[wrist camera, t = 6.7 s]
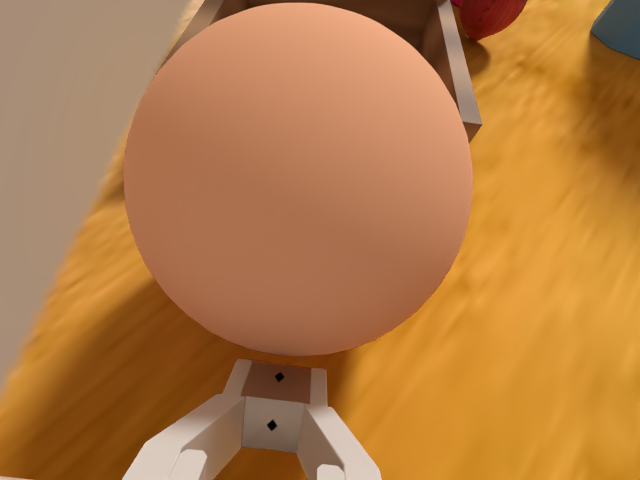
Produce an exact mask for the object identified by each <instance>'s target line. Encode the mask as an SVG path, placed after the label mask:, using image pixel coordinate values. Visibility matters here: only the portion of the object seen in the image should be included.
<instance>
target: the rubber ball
mask: <svg viewBox="0 0 640 480" xmlns="http://www.w3.org/2000/svg"><path fill="white" fill-rule="evenodd" d="M123 177H124V195H125V204H126V211H127V215H128V219H129V223H130V227H131V231H132V233H133V236H134V239H135V242H136V245H137V247H138V249H139V251H140V254H141V256H142V258H143V260H144V262H145V264H146V266H147V267H148V269H149V270H150V272H151V273H152V275H153V276H154V278H155V279H156V281H157V282H158V284H159V285H160V286H161V288H162V289H163V291H164V292H165V294H166V295H167V296H168V297H169V298H170V299H171V300H172V301H173V302H174V303H175V304H176V305H177V306H178V307H179V308H180V309H181V310H182V311H183V312H184V313H186V314H187V315H188V316H189V317H190V318H192V319H193V320H194V321H196V322H197V323H199V324H200V325H201V326H203V327H204V328H205V329H207V330H208V331H210V332H212V333H214V334H215V335H217V336H219V337H221V338H223V339H225V340H227V341H229V342H231V343H234V344H237V345H240V346H243V347H246V348H248V349H251V350H255V351H260V352H265V353H270V354H275V355H283V356H301V357H303V356H315V355H327V354H332V353H336V352H341V351H345V350H350V349H353V348H355V347H358V346H361V345H363V344H366V343H369V342H371V341H373V340H375V339H377V338H379V337H381V336H382V335H384V334H386V333H388V332H389V331H391V330H393V329H394V328H396V327H397V326H399V325H400V324H401V323H403V322H404V321H405V320H406V319H408V318H409V317H410V316H411V315H413V314H414V313H415V312H417V311H418V310H419V309H420V307H421V306H422V305H423V304H424V303H425V302H426V301H427V300H428V299H429V298H430V297H431V295H432V294H433V293H434V292H435V290H436V289H437V288H438V287H439V286H440V284H441V283H442V281H443V279H444V278H445V276H446V275H447V273H448V272H449V270H450V268H451V266H452V264H453V262H454V260H455V258H456V256H457V254H458V252H459V249H460V247H461V244H462V242H463V239H464V237H465V232H466V228H467V224H468V220H469V215H470V211H471V206H472V189H473V167H472V160H471V154H470V148H469V142H468V137H467V133H466V130H465V128H464V125H463V122H462V119H461V116H460V114H459V111H458V109H457V106H456V103H455V102H454V100H453V98H452V97H451V95H450V93H449V91H448V90H447V88H446V86H445V85H444V83H443V82H442V80H441V78H440V77H439V75H438V74H437V73H436V71H435V70H434V69H433V68H432V66H431V65H430V64H429V63H428V62H427V61H426V60H425V59H424V58H423V57H422V56H421V55H420V53H419V52H418V51H417V50H416V49H415V48H414V47H412V46H411V45H410V44H409V43H408V42H406V41H405V40H404V39H402V38H401V37H400V36H398V35H397V34H395V33H394V32H392V31H391V30H389V29H388V28H386V27H385V26H383V25H381V24H380V23H378V22H376V21H374V20H372V19H370V18H368V17H365V16H363V15H360V14H357V13H355V12H351V11H348V10H345V9H341V8H337V7H333V6H328V5H323V4H315V3H277V4H269V5H262V6H258V7H254V8H250V9H247V10H244V11H242V12H239V13H236V14H234V15H231V16H228V17H226V18H224V19H221V20H219V21H217V22H215V23H213V24H212V25H210V26H208V27H207V28H205V29H204V30H203V31H201V32H200V33H198V34H197V35H195V36H194V37H193V38H191V39H190V40H189V41H187V42H186V43H185V44H183V45H182V46H181V47H180V48H179V49H178V50H177V51H176V52H175V53H174V55H173V56H172V57H171V58H170V59H169V60H168V61H167V62H166V63H165V64H164V66H163V67H162V68H161V69H160V70H159V71H158V73H157V74H156V76H155V77H154V79H153V80H152V82H151V84H150V85H149V87H148V89H147V91H146V92H145V94H144V96H143V98H142V99H141V101H140V103H139V106H138V108H137V111H136V113H135V116H134V119H133V122H132V126H131V129H130V132H129V135H128V140H127V146H126V151H125V161H124V171H123Z"/></svg>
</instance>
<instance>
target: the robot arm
mask: <svg viewBox="0 0 640 480" xmlns="http://www.w3.org/2000/svg"><path fill="white" fill-rule="evenodd" d="M241 447H245V448H258V449H269V450H276V451H283V452H290V453H297V457H298V459H299V461H300V464H301V466H302V468H303V471H304V473H305V475H306V478H307V480H382V479H381V474H380V469H379V468H378V467H377V465H376V464H375V463H374V461H373V460H372V459H371V457H370V456H369V455H368V454H367V452H366V451H365V450H364V448H363V447H362V446H361V444H360V443H359V442H358V440H357V439H356V438H355V437H354V435H353V434H352V433H351V431H350V430H349V429H348V427H347V426H346V425H345V423H344V422H343V421H342V420H341V418H340V417H339V416H338V414H337V413H336V412H335V410H334V409H333V408H332V407H328V404H327V370H326V369H324V368H313V367H311V368H309V367H300V366H291V365H283V364H277V363H270V362H263V361H257V360H249V359H241V358H238V360H237V361H236V363H235V365H234V367H233V370H232V372H231V374H230V377H229V379H228V381H227V383H226V386H225V388H224V390H223V393H222V394H216V395H215V396H213V397H212V398H210V399H209V400H207V401H206V402H204V403H203V404H201V405H200V406H198V407H197V408H195V409H194V410H192V411H191V412H189V413H188V414H187V415H185V416H184V417H182V418H181V419H179V420H178V421H176V422H175V423H173V424H172V425H170V426H169V427H167V428H166V429H164V430H163V431H161V432H160V433H159V434H157V435H156V436H154V437H153V438H151V439H150V440H148V441H147V442H145V444H144V445H143V447H142V448H141V450H140V452H139V453H138V455H137V456H136V458H135V460H134V461H133V463H132V464H131V466H130V467H129V469H128V471H127V472H126V474H125V475H124V477H123V478H122V480H213V479H214V478H215V477H216V476H217V475H218V474H219V473H220V471H221V470H222V469H223V468H224V467H225V466H226V465H227V464H228V463H229V461H230V460H231V459H232V458H233V457H234V456H235V455H236V454H237V453H238V451H239V450H240V449H241ZM0 480H32V479H22V478H13V477H4V476H0Z"/></svg>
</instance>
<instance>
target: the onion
mask: <svg viewBox="0 0 640 480" xmlns="http://www.w3.org/2000/svg"><path fill="white" fill-rule="evenodd" d="M526 2H527V0H461V2H460V18H461V22H462V25H463V27H464V29H465V31H466V33H467V34H468V36H469V38H470V39H471V40H473V41H478V40H481V39H482V38H485V37H487V36H490V35H493V34H495V33H498V32H500V31H502V30H503V29H505V28H506V27H507V26H509V25H510V24H511V23H512V22H513V21H514V20H516V18H517V17H518V16H519V14H520V13H521V12H522V10H523V8H524V6H525V4H526Z"/></svg>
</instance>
